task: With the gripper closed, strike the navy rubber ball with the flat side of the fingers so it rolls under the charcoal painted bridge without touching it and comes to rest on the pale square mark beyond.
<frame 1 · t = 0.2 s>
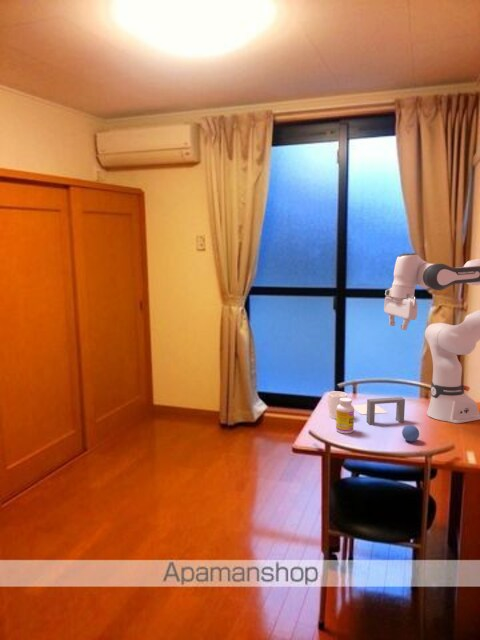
hand: (397, 327, 199), 39 cm above the table, tool pointing down, fingers open, 8 cm apart
ball: (410, 433, 182), on the table
supplement bottle: (344, 431, 193), on the table
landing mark: (368, 409, 218), on the table
bridge: (385, 422, 202), on the table
white cup: (336, 417, 209), on the table
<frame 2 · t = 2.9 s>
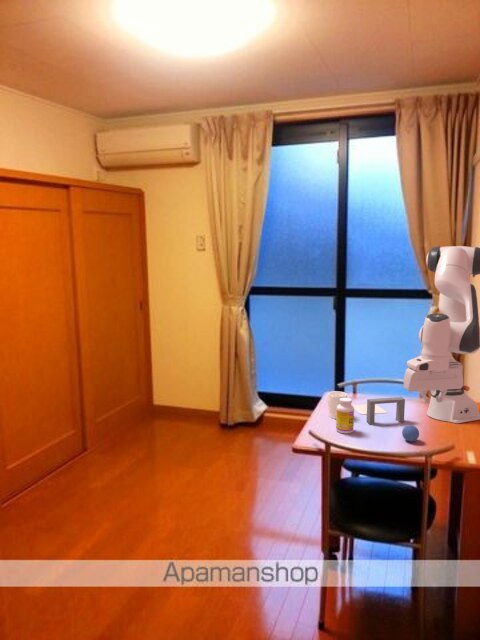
hand: (432, 402, 167), 19 cm above the table, tool pointing down, fingers open, 4 cm apart
nothing on the table moved.
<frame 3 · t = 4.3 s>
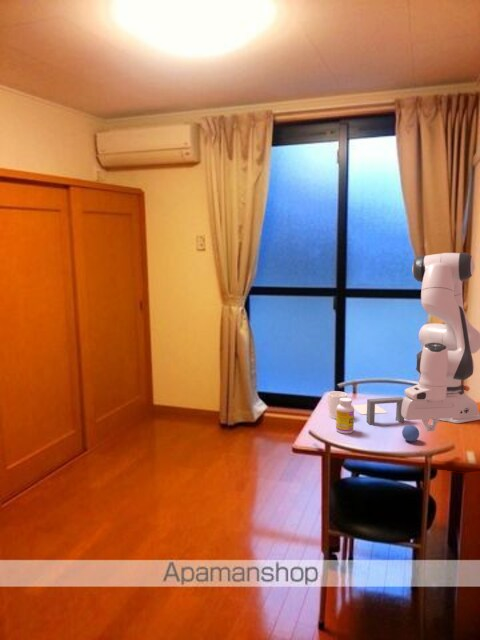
hand: (429, 430, 168), 9 cm above the table, tool pointing down, fingers closed
nothing on the table moved.
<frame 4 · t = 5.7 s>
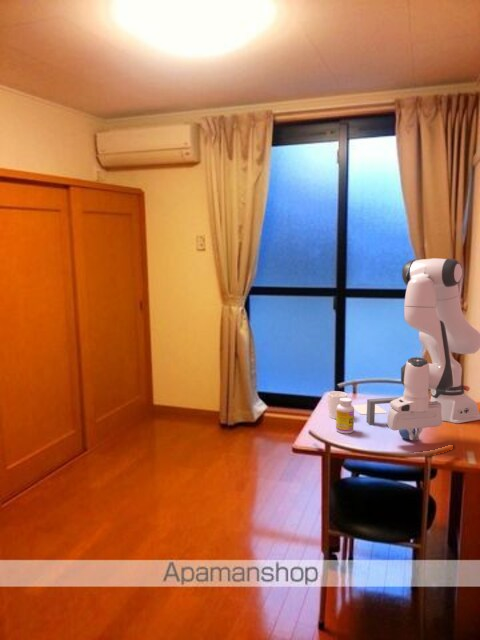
hand: (414, 439, 181), 1 cm above the table, tool pointing down, fingers closed
ball: (407, 431, 184), on the table
everything else where it was.
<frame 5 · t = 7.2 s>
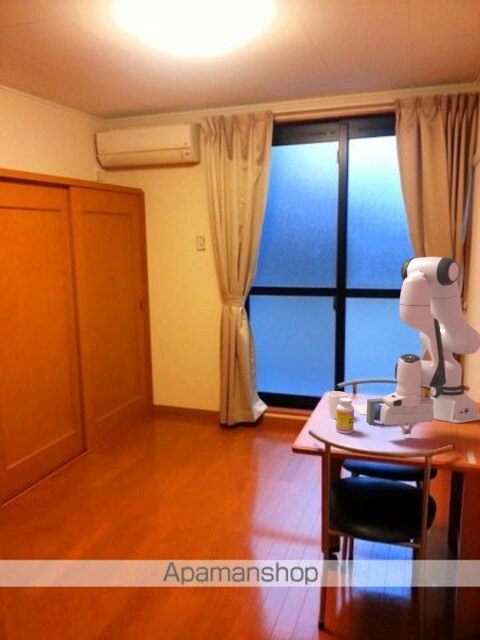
hand: (406, 433, 185), 2 cm above the table, tool pointing down, fingers closed
ball: (377, 411, 206), on the table
everything else where it was.
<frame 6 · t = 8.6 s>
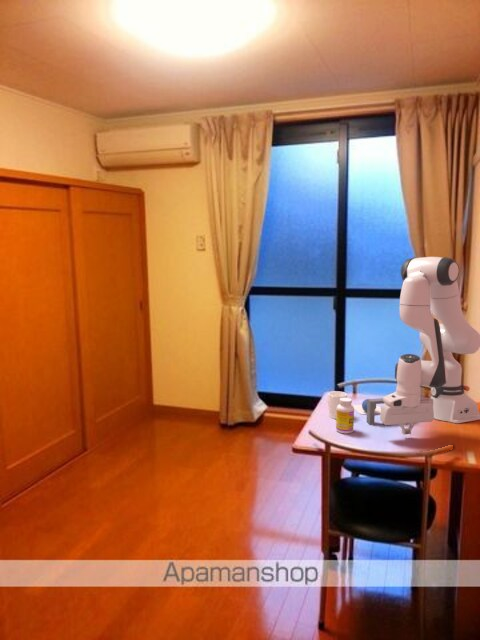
hand: (406, 433, 185), 2 cm above the table, tool pointing down, fingers closed
ball: (369, 405, 213), on the table
everything else where it was.
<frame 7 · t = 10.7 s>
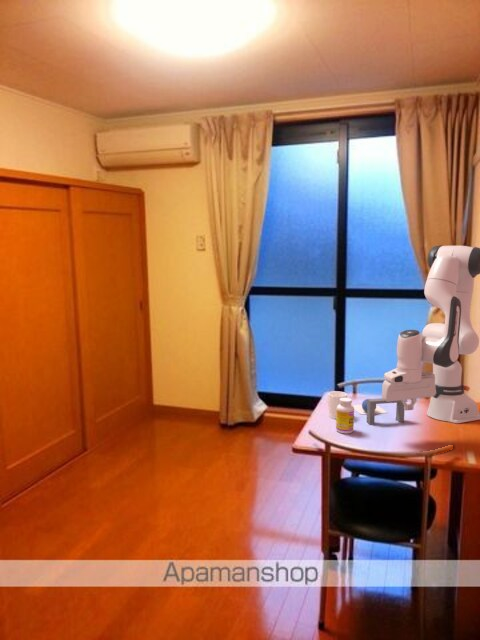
hand: (408, 409, 185), 11 cm above the table, tool pointing down, fingers closed
nothing on the table moved.
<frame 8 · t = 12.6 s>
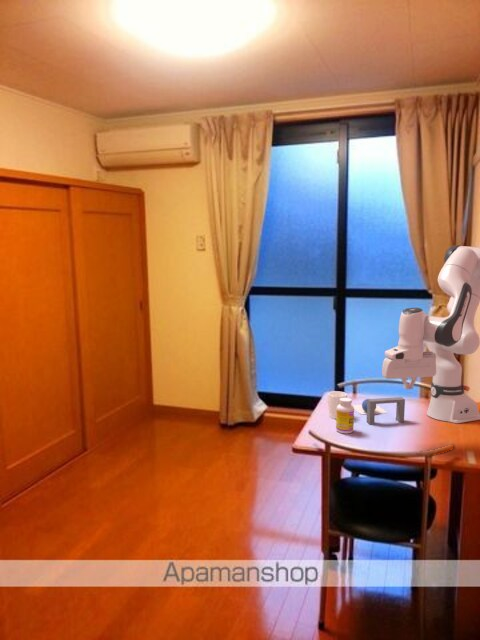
hand: (408, 388, 183), 19 cm above the table, tool pointing down, fingers closed
nothing on the table moved.
at the end: ball 4.1 cm from the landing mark (horizontally); ball never touched bridge; ball at rest at the end (0.0 cm/s) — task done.
